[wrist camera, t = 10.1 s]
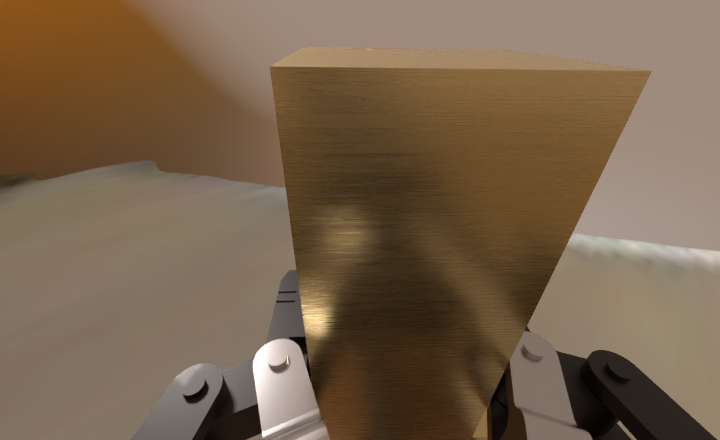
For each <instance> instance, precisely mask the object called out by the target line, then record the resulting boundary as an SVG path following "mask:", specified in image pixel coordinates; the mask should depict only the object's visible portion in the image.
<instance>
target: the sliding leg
mask: <svg viewBox="0 0 720 440" xmlns="http://www.w3.org/2000/svg"><path fill="white" fill-rule="evenodd" d="M270 71H271V79H272V87H273V95H274V101H275V109H276V117H277V125H278V132H279V140H280V148H281V154H282V162H283V170H284V178H285V185H286V193H287V201H288V208H289V216H290V223H291V231H292V239H293V246H294V254H295V261H296V269H297V276H298V284H299V292H300V299H301V307H302V314H303V322H304V329H305V337H306V345H307V352H308V360H309V367H310V375H311V383H312V388H313V392H314V395H315V398H316V402H317V405H318V409H319V412H320V415H321V417H322V418H323V420H324V422H325V425H326V428H327V431H328V435H329V438H330V440H488V438H487V406H488V404H489V402H490V400H491V398H492V396H493V394H494V392H495V390H496V388H497V386H498V384H499V382H500V379H501V377H502V375H503V373H504V371H505V369H506V367H507V365H508V363H509V361H510V359H511V357H512V355H513V353H514V351H515V349H516V347H517V345H518V343H519V341H520V339H521V337H522V335H523V333H524V331H525V329H526V326H527V324H528V322H529V320H530V318H531V316H532V314H533V312H534V310H535V308H536V306H537V304H538V302H539V300H540V298H541V296H542V294H543V292H544V290H545V288H546V286H547V284H548V282H549V280H550V278H551V276H552V273H553V271H554V269H555V267H556V265H557V263H558V261H559V259H560V257H561V255H562V253H563V251H564V249H565V247H566V245H567V243H568V241H569V239H570V237H571V235H572V233H573V231H574V229H575V226H576V224H577V222H578V220H579V218H580V216H581V214H582V212H583V210H584V208H585V206H586V204H587V202H588V200H589V198H590V196H591V194H592V192H593V190H594V187H595V186H596V184H597V182H598V180H599V178H600V176H601V174H602V171H603V169H604V167H605V165H606V163H607V161H608V159H609V157H610V155H611V153H612V151H613V149H614V147H615V145H616V143H617V141H618V139H619V136H620V135H621V133H622V131H623V129H624V127H625V124H626V123H627V121H628V118H629V116H630V114H631V112H632V110H633V108H634V106H635V104H636V102H637V100H638V98H639V96H640V94H641V92H642V90H643V88H644V86H645V84H646V82H647V80H648V78H649V76H650V74H651V71H648V70H641V69H635V68H628V67H621V66H614V65H607V64H600V63H594V62H587V61H580V60H573V59H566V58H560V57H553V56H546V55H539V54H532V53H525V52H519V51H511V50H458V49H455V50H453V49H392V48H390V49H389V48H327V47H321V48H320V47H304V48H302V49H300V50H298V51H297V52H295V53H293V54H291V55H289V56H288V57H286V58H284V59H282V60H280V61H279V62H277V63H275V64H273V65H272V66H270Z"/></svg>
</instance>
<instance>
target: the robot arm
mask: <svg viewBox="0 0 720 440" xmlns="http://www.w3.org/2000/svg"><path fill="white" fill-rule="evenodd" d="M619 421H621V422H622V424H623V425H624V426H625V427H626V428H627V429H628V430H629V431H630V432H631V433H632V435H633V436H634V437H635V438H636V439H637V440H717V439H716V438H715V437H713V436H712V435H711V434H710V433H709V432H708V431H707V430H706V429H705V428H704V427H702V426H701V425H700V424H699V423H698V422H697V421H696V420H695V419H694V418H692V417H691V416H690V415H689V414H688V413H687V412H686V411H685V410H684V409H683V408H681V407H680V406H679V405H678V404H677V403H676V402H675V401H674V400H673V399H671V398H670V397H669V396H668V395H667V394H666V393H665V392H664V391H663V390H662V389H660V388H659V387H658V386H657V385H656V384H655V383H654V382H653V381H652V380H650V379H649V378H648V377H647V376H646V375H645V374H644V373H643V372H642V371H641V370H639V369H638V368H637V367H636V366H635V365H634V364H633V363H631V362H630V361H629V360H627V359H626V358H624V357H622V356H620V355H618V354H616V353H613V352H610V351H605V350H597V351H594V352H592V353H591V354H590V355H589V357H588V358H587V359H585V358H581V357H577V356H573V355H569V354H565V353H561V352H558V351H555V349H554V348H553V346H552V345H551V344H550V343H549V342H547V341H546V340H545V339H544V338H542V337H540V336H539V335H536V334H534V333H531V332H530V330H529V329H528V327H527V326H526V329H525V331H524V333H523V335H522V337H521V339H520V341H519V343H518V345H517V347H516V349H515V351H514V353H513V355H512V357H511V359H510V361H509V363H508V365H507V367H506V369H505V371H504V373H503V375H502V377H501V379H500V382H499V384H498V386H497V388H496V390H495V392H494V394H493V396H492V398H491V400H490V402H489V404H488V406H487V438H488V440H631V439H630V438H629V436H628V435H627V434H626V433H625V432H624V431H623V430H622V429H621V428H620V426H619V425H618V424H617V423H618V422H619ZM260 433H262V437H263V440H330V438H329V435H328V431H327V428H326V425H325V422H324V420H323V418H322V417H321V415H320V412H319V409H318V405H317V402H316V398H315V395H314V392H313V388H312V385H311V375H310V367H309V360H308V352H307V345H306V337H305V329H304V322H303V314H302V307H301V299H300V292H299V284H298V276H297V270H289V271H288V273H287V274H286V275H285V276H284V278H283V279H282V280H281V283H280V288H279V294H278V296H277V300H276V304H275V308H274V313H273V317H272V321H271V325H270V329H269V333H268V337H267V341H266V343H265V345H264V346H263V347H262V348H261V349H260V350H259V351H258V352H257V354H256V356H254V357H253V358H251V359H250V360H248V361H246V362H244V363H241V364H238V365H235V366H232V367H230V368H227V369H224V370H220V369H219V368H218V367H217V366H215V365H214V364H210V363H201V364H197V365H194V366H191V367H189V368H187V369H186V370H184V371H183V372H181V373H180V374H179V375H178V376H177V377H176V378H175V379H174V380H173V381H172V383H171V384H170V385H169V387H168V388H167V390H166V391H165V392H164V394H163V395H162V397H161V398H160V399H159V401H158V402H157V404H156V405H155V406H154V408H153V409H152V411H151V412H150V413H149V415H148V416H147V418H146V419H145V420H144V422H143V423H142V425H141V426H140V427H139V429H138V430H137V432H136V433H135V434H134V436H133V437H132V439H131V440H246V439H249V438H251V437H253V436H256V435H258V434H260Z"/></svg>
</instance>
